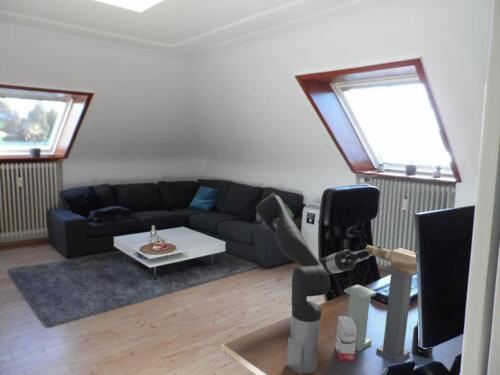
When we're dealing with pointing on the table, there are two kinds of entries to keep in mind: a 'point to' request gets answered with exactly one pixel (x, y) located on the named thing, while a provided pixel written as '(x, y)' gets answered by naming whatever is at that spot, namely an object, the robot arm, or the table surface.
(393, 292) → the tall stand
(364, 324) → the low stand
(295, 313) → the robot arm
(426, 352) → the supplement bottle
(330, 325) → the table surface
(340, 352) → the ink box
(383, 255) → the wooden leg
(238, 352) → the table surface
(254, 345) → the table surface
